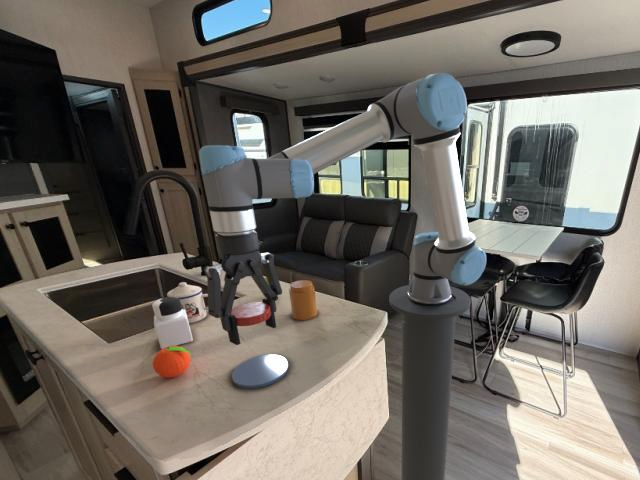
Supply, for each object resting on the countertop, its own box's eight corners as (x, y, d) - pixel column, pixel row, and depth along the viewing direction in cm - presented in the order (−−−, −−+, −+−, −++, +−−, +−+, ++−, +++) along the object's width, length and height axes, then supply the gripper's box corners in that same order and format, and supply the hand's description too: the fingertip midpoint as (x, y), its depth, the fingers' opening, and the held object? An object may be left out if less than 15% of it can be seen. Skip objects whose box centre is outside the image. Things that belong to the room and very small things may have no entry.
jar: (322, 313, 103) (319, 282, 99) (303, 322, 97) (299, 289, 93) (306, 307, 107) (302, 278, 103) (287, 316, 101) (283, 284, 97)
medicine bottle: (190, 331, 91) (180, 292, 87) (193, 341, 86) (182, 300, 82) (160, 338, 87) (148, 298, 83) (161, 349, 82) (148, 307, 78)
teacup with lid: (169, 326, 94) (159, 290, 90) (178, 314, 102) (169, 280, 98) (215, 320, 98) (207, 285, 94) (220, 308, 106) (213, 275, 102)
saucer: (299, 367, 75) (299, 364, 75) (253, 396, 66) (252, 392, 65) (267, 351, 81) (267, 349, 81) (221, 376, 72) (221, 373, 72)
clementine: (203, 364, 76) (197, 338, 74) (190, 382, 70) (182, 354, 67) (167, 366, 75) (159, 340, 73) (150, 385, 69) (141, 357, 66)
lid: (222, 319, 68) (220, 311, 67) (256, 306, 74) (255, 299, 73) (244, 330, 63) (242, 321, 63) (279, 315, 70) (277, 307, 69)
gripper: (270, 222, 72) (282, 312, 80) (167, 238, 56) (195, 350, 64) (292, 225, 68) (302, 320, 76) (188, 244, 52) (215, 362, 60)
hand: (254, 333), depth 70 cm, fingers closed on lid, 8 cm apart
